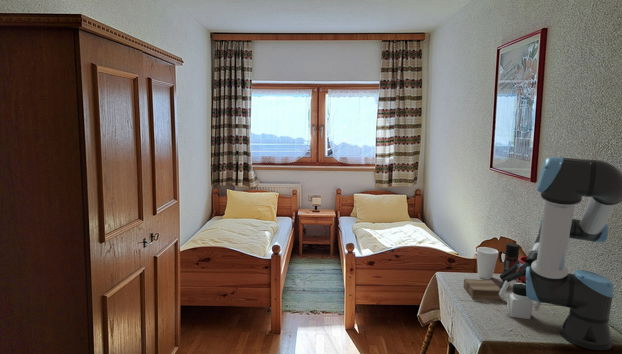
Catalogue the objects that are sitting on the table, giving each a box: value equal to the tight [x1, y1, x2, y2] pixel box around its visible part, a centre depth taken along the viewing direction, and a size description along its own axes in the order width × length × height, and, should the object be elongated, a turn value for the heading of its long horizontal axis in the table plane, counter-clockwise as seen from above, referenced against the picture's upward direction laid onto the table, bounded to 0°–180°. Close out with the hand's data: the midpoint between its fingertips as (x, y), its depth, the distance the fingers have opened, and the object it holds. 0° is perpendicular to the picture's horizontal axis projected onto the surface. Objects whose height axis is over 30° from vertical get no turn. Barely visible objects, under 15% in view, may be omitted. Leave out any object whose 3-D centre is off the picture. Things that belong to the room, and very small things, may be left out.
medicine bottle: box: [506, 282, 533, 320], centre depth 172 cm, size 7×7×12 cm
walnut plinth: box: [463, 278, 503, 301], centre depth 191 cm, size 12×12×4 cm
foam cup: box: [476, 246, 499, 280], centre depth 211 cm, size 10×9×13 cm
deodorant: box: [502, 242, 520, 274], centre depth 215 cm, size 6×6×15 cm
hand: (517, 302), depth 171 cm, fingers open, 13 cm apart
